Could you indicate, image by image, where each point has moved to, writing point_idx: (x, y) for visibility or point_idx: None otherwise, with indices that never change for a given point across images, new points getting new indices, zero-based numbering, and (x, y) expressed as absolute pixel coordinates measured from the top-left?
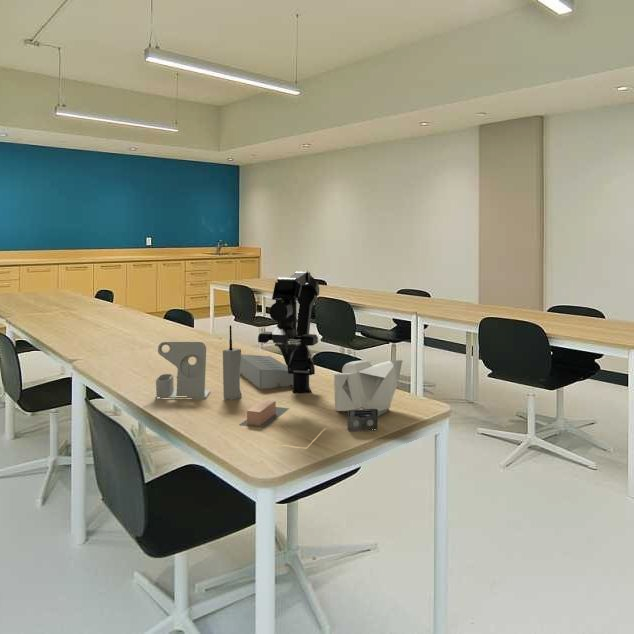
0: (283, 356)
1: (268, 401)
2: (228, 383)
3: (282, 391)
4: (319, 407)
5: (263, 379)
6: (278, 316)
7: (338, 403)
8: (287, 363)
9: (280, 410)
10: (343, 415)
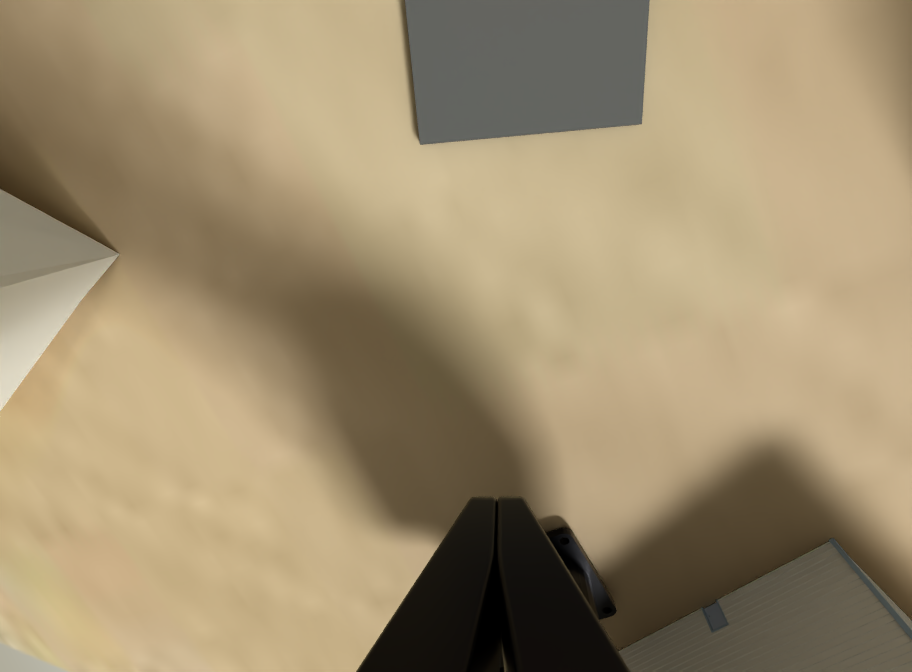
0: (610, 654)
1: None
2: None
3: (651, 535)
4: (252, 290)
5: (856, 616)
6: None
7: (35, 259)
8: (490, 512)
9: (460, 43)
10: (10, 176)
